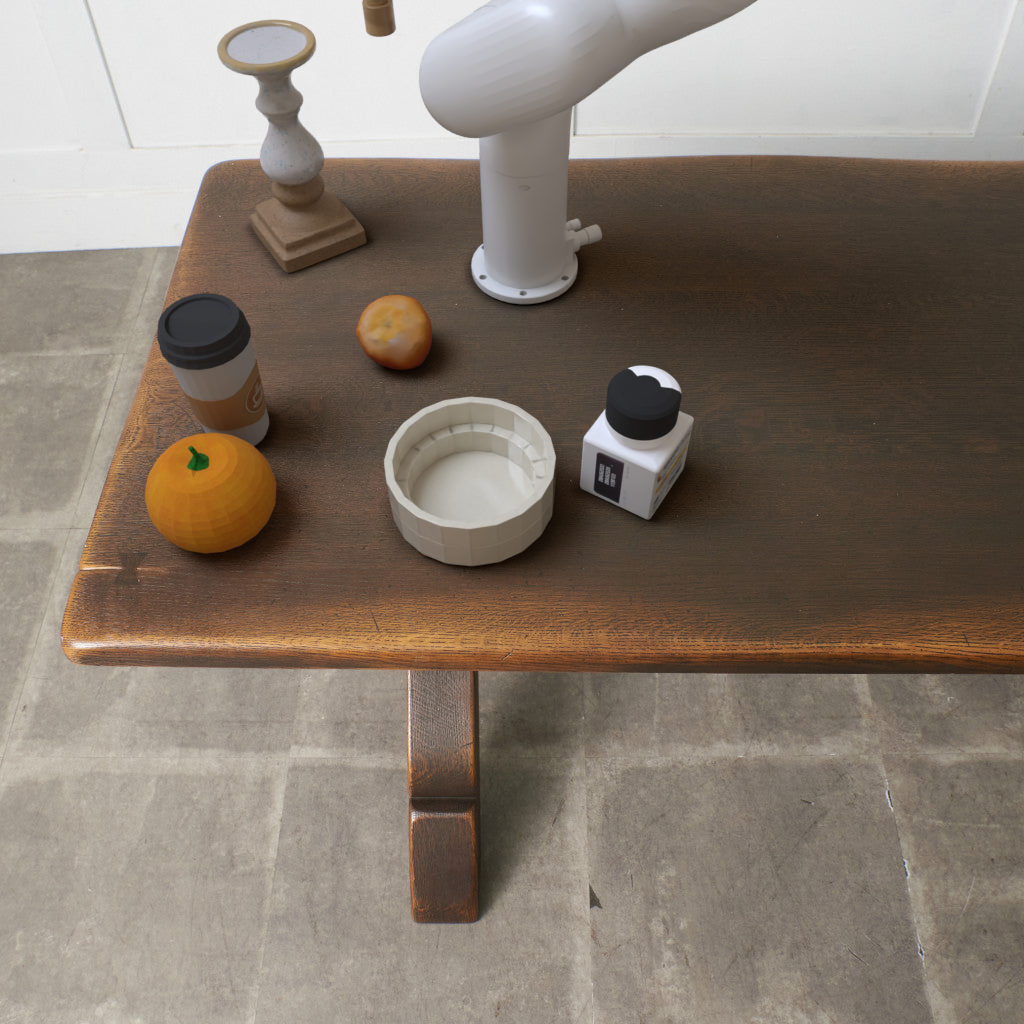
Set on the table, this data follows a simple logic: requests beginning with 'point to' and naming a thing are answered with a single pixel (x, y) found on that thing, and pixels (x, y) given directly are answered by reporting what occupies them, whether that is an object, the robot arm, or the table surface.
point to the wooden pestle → (379, 17)
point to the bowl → (471, 480)
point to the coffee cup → (215, 364)
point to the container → (637, 441)
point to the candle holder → (289, 149)
